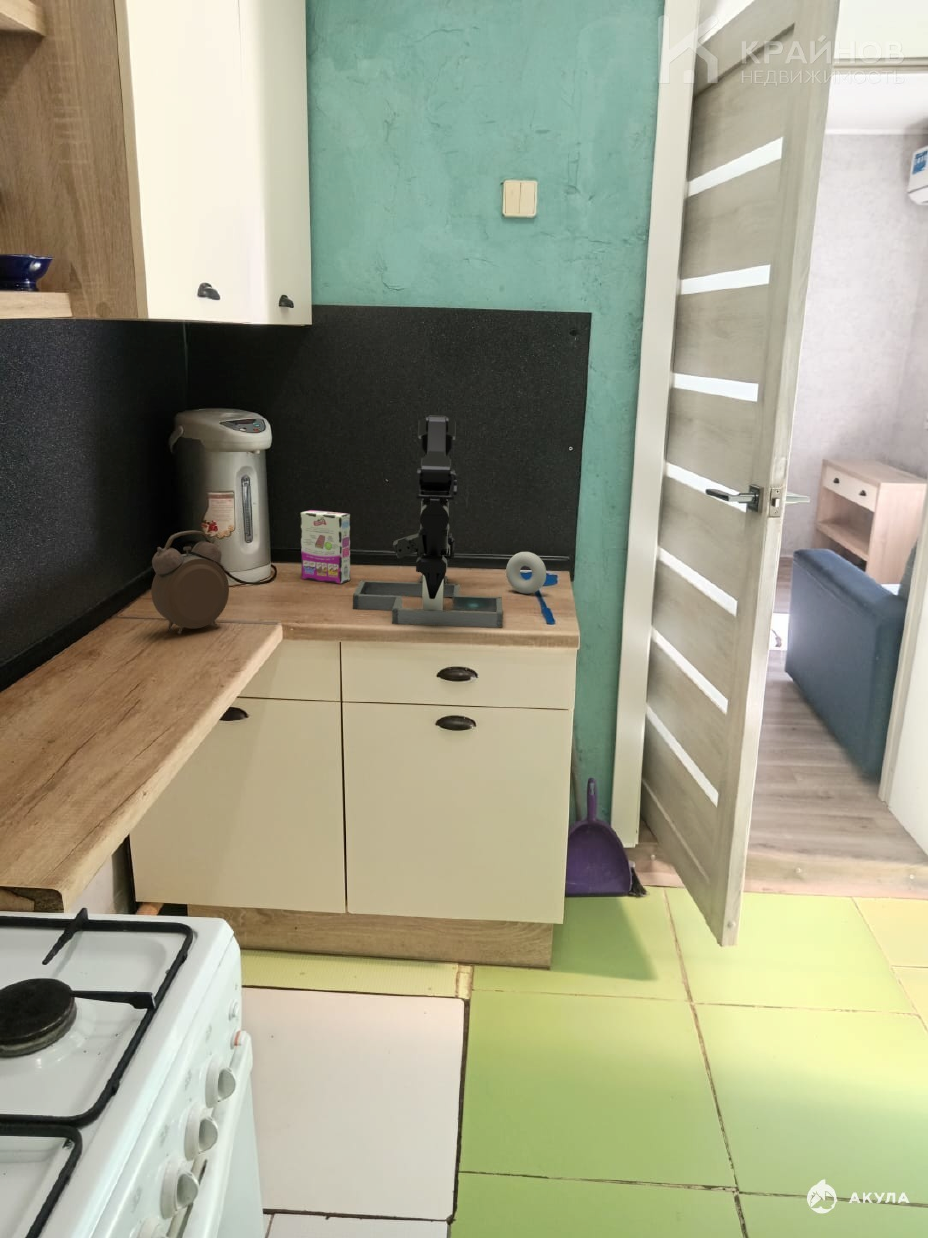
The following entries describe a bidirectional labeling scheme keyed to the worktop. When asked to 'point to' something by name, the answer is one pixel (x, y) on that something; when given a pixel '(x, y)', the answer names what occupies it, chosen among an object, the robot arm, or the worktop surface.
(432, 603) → the peg
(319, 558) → the candy bar box
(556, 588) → the worktop surface
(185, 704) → the worktop surface
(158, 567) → the alarm clock
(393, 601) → the channel
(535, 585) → the donut
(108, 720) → the worktop surface
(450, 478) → the robot arm
